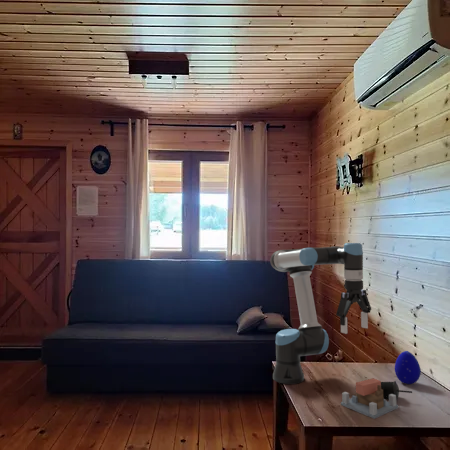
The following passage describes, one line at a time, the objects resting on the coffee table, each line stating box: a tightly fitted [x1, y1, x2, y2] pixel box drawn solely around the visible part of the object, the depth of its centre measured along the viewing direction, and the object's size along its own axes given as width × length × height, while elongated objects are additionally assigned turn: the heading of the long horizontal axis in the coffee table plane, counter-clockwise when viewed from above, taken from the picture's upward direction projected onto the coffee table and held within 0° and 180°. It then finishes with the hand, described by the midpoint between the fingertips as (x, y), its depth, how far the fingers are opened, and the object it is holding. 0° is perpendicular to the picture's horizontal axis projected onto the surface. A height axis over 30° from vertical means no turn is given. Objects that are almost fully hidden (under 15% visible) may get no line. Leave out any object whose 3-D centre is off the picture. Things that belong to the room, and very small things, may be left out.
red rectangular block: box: [355, 377, 382, 396], centre depth 168 cm, size 10×4×4 cm, turn 118°
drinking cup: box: [381, 381, 413, 401], centre depth 176 cm, size 8×8×20 cm
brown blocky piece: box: [355, 385, 384, 409], centre depth 168 cm, size 10×4×9 cm, turn 39°
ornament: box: [394, 350, 422, 385], centre depth 192 cm, size 11×9×15 cm
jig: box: [340, 391, 399, 420], centre depth 168 cm, size 16×16×5 cm
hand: (354, 330), depth 171 cm, fingers open, 13 cm apart
